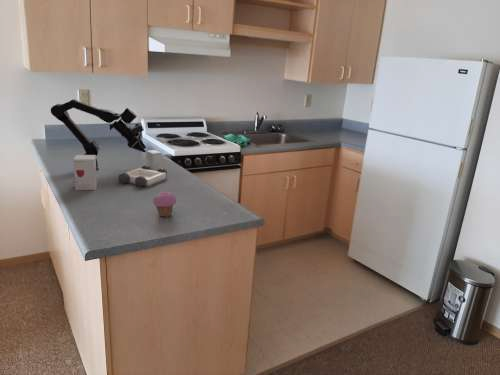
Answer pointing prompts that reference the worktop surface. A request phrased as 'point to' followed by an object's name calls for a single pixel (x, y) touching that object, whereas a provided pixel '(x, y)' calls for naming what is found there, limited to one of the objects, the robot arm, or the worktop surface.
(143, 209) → the worktop surface
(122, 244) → the worktop surface
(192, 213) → the worktop surface
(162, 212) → the cupcake
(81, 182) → the supplement box
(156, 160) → the small box
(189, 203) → the worktop surface
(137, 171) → the chassis
